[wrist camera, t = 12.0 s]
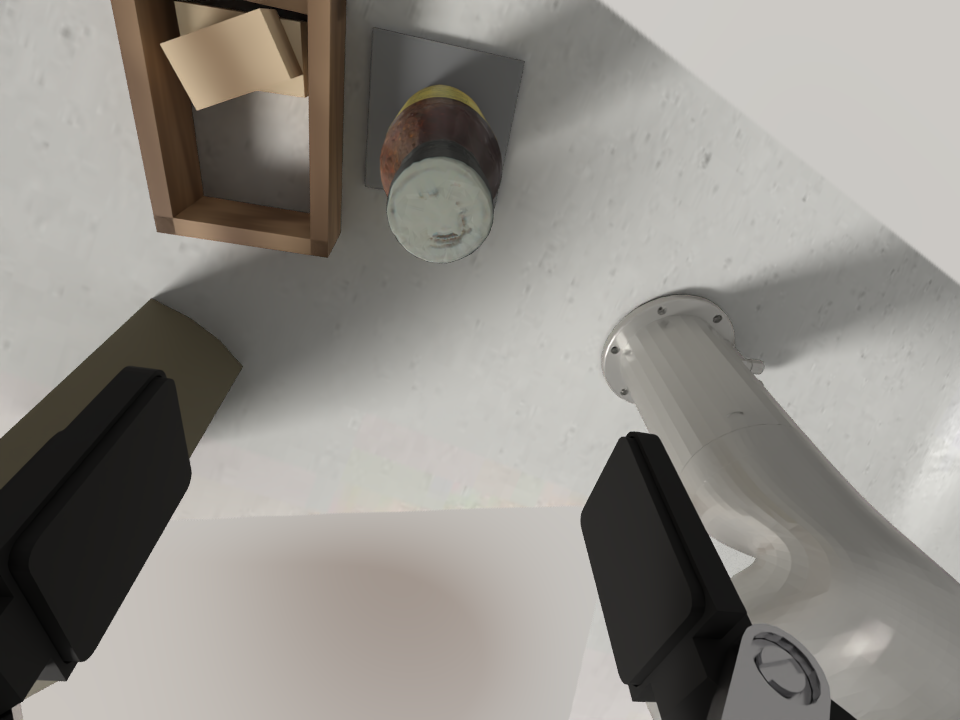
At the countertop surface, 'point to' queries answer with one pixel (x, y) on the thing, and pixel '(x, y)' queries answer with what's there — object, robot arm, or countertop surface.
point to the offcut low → (207, 15)
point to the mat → (426, 63)
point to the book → (138, 342)
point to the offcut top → (233, 57)
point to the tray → (172, 140)
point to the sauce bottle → (440, 175)
